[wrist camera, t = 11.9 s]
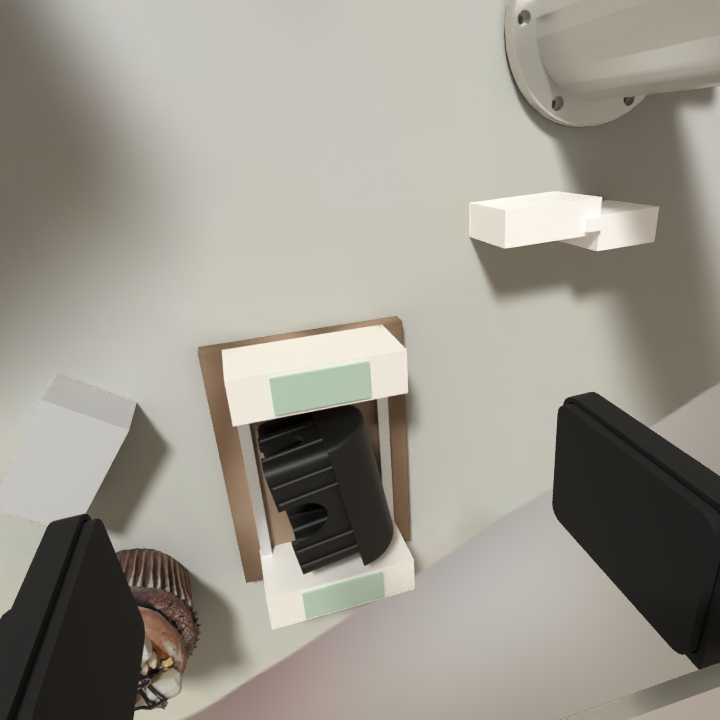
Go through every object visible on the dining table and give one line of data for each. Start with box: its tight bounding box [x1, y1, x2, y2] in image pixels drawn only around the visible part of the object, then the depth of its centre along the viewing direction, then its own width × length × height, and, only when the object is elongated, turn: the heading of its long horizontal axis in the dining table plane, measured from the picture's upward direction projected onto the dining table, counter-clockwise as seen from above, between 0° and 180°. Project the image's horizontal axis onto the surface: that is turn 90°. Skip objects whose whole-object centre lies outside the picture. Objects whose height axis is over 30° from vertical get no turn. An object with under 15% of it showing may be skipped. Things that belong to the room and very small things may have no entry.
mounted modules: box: [222, 324, 415, 630], centre depth 36 cm, size 11×20×5 cm, turn 5°
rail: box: [237, 397, 394, 556], centre depth 38 cm, size 11×20×1 cm, turn 5°
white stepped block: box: [469, 191, 659, 251], centre depth 36 cm, size 15×11×6 cm
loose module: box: [0, 374, 137, 525], centre depth 33 cm, size 5×8×4 cm, turn 148°
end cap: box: [257, 404, 394, 575], centre depth 36 cm, size 10×7×7 cm
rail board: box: [198, 316, 410, 583], centre depth 39 cm, size 14×20×1 cm
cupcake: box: [116, 548, 201, 711], centre depth 36 cm, size 10×10×10 cm
